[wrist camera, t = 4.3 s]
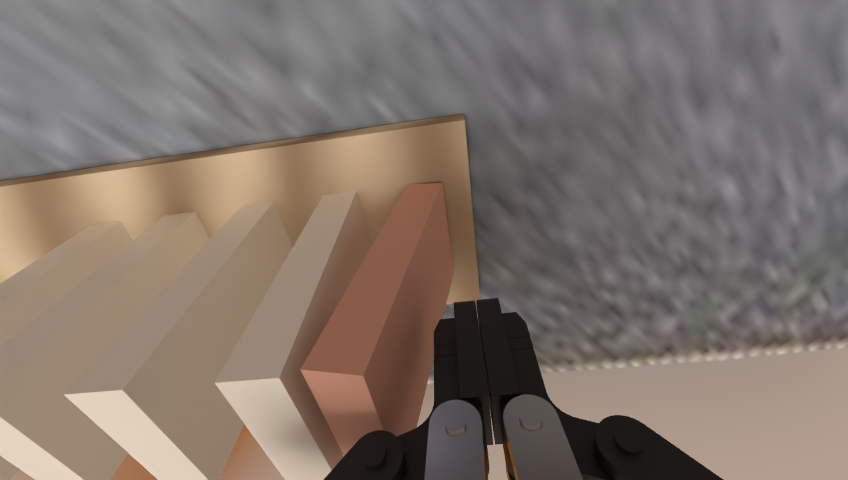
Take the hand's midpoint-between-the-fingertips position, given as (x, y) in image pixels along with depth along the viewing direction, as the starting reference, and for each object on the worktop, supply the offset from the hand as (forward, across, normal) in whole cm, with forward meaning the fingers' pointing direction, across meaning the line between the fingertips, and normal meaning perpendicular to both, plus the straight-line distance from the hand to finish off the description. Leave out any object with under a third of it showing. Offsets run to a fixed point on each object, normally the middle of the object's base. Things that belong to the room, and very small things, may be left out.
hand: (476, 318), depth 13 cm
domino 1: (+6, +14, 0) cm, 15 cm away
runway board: (+7, +14, 0) cm, 15 cm away
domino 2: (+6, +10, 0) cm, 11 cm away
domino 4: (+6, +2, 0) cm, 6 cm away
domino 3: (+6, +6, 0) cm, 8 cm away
